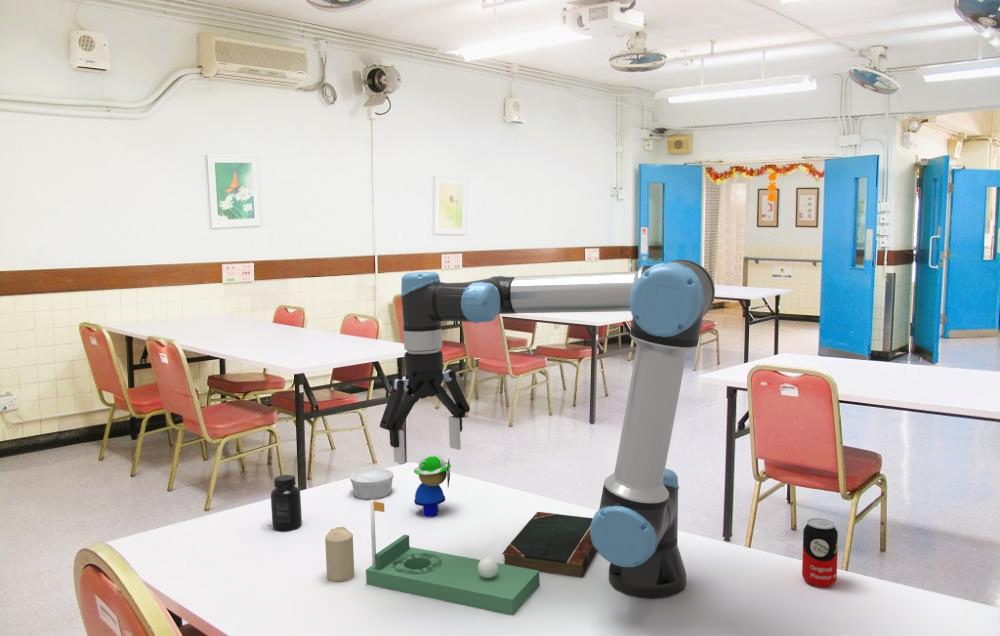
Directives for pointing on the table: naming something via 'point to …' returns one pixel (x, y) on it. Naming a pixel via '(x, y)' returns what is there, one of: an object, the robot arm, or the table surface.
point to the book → (553, 545)
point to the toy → (431, 483)
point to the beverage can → (820, 552)
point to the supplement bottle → (286, 504)
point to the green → (447, 575)
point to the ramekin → (372, 483)
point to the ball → (488, 567)
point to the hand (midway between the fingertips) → (428, 455)
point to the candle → (339, 554)
